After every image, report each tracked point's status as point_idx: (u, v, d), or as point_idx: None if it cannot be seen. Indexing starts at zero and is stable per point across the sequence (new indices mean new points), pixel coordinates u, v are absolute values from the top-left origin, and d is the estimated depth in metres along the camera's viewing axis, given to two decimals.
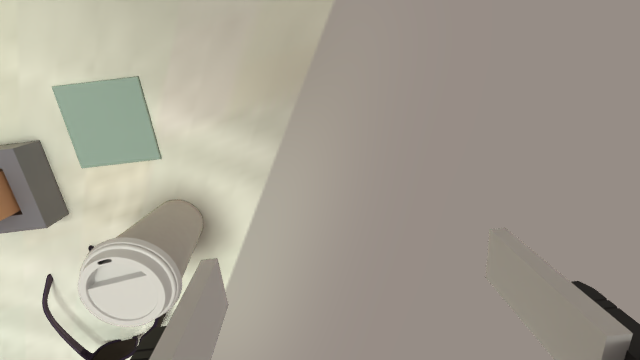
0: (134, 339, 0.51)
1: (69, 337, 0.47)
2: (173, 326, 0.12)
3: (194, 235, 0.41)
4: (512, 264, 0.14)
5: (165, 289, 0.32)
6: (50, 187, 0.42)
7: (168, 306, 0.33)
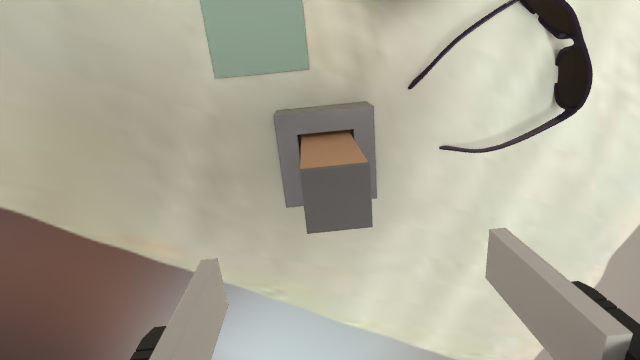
0: (560, 61, 0.36)
1: (531, 131, 0.36)
2: (173, 326, 0.12)
3: None
4: (512, 264, 0.14)
5: None
6: (329, 106, 0.36)
7: None
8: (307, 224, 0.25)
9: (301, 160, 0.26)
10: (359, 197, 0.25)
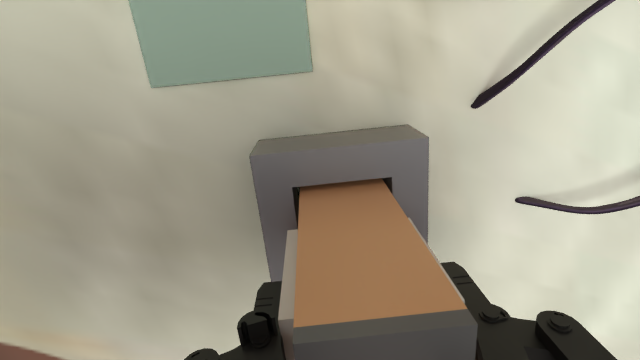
0: None
1: None
2: (288, 278, 0.14)
3: None
4: None
5: None
6: (346, 134, 0.21)
7: None
8: None
9: (298, 280, 0.12)
10: None
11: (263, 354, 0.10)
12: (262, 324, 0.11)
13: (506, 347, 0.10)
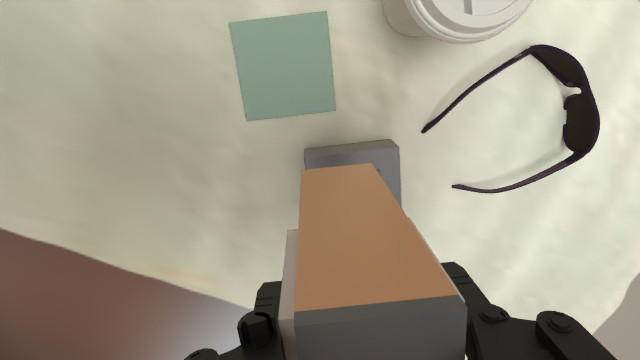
0: (568, 105, 0.38)
1: (541, 173, 0.37)
2: (288, 278, 0.14)
3: None
4: None
5: None
6: (355, 145, 0.38)
7: None
8: None
9: (298, 269, 0.12)
10: None
11: (263, 354, 0.10)
12: (262, 324, 0.11)
13: (506, 347, 0.10)
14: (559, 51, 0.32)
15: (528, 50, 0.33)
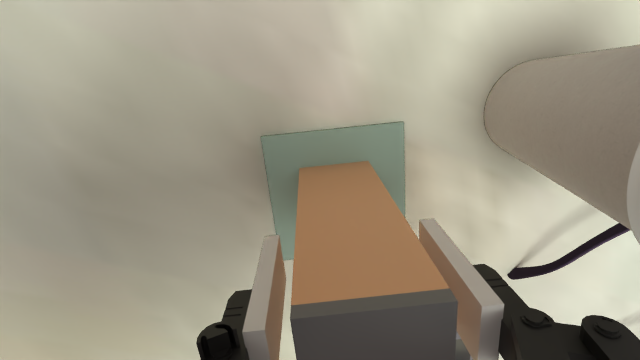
0: None
1: None
2: (259, 287, 0.13)
3: None
4: (432, 250, 0.16)
5: None
6: None
7: None
8: None
9: (295, 264, 0.12)
10: None
11: None
12: (223, 337, 0.10)
13: (549, 353, 0.09)
14: None
15: None
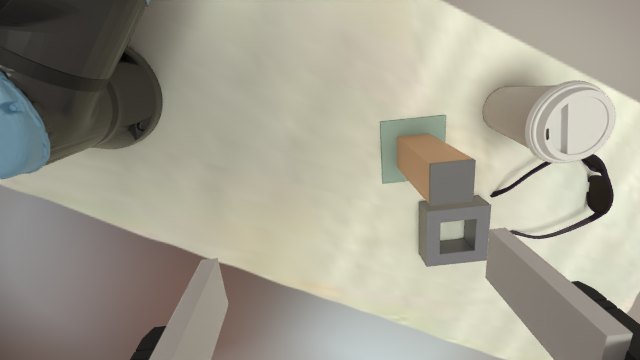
0: (591, 179, 0.55)
1: (572, 226, 0.55)
2: (173, 326, 0.12)
3: (525, 86, 0.45)
4: (512, 264, 0.14)
5: (586, 89, 0.36)
6: None
7: (603, 93, 0.37)
8: (431, 199, 0.39)
9: (423, 158, 0.40)
10: (466, 181, 0.38)
11: None
12: None
13: None
14: None
15: None
